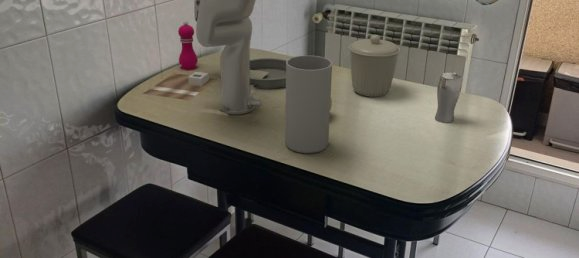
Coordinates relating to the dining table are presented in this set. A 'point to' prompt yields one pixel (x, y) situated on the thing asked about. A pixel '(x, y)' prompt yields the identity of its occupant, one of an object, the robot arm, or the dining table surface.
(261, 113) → the dining table surface
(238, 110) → the robot arm
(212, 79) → the brown flat board
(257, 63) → the cake pan
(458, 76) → the beer glass
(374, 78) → the canister
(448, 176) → the dining table surface
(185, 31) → the pepper mill
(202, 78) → the block
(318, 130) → the cylinder vase
